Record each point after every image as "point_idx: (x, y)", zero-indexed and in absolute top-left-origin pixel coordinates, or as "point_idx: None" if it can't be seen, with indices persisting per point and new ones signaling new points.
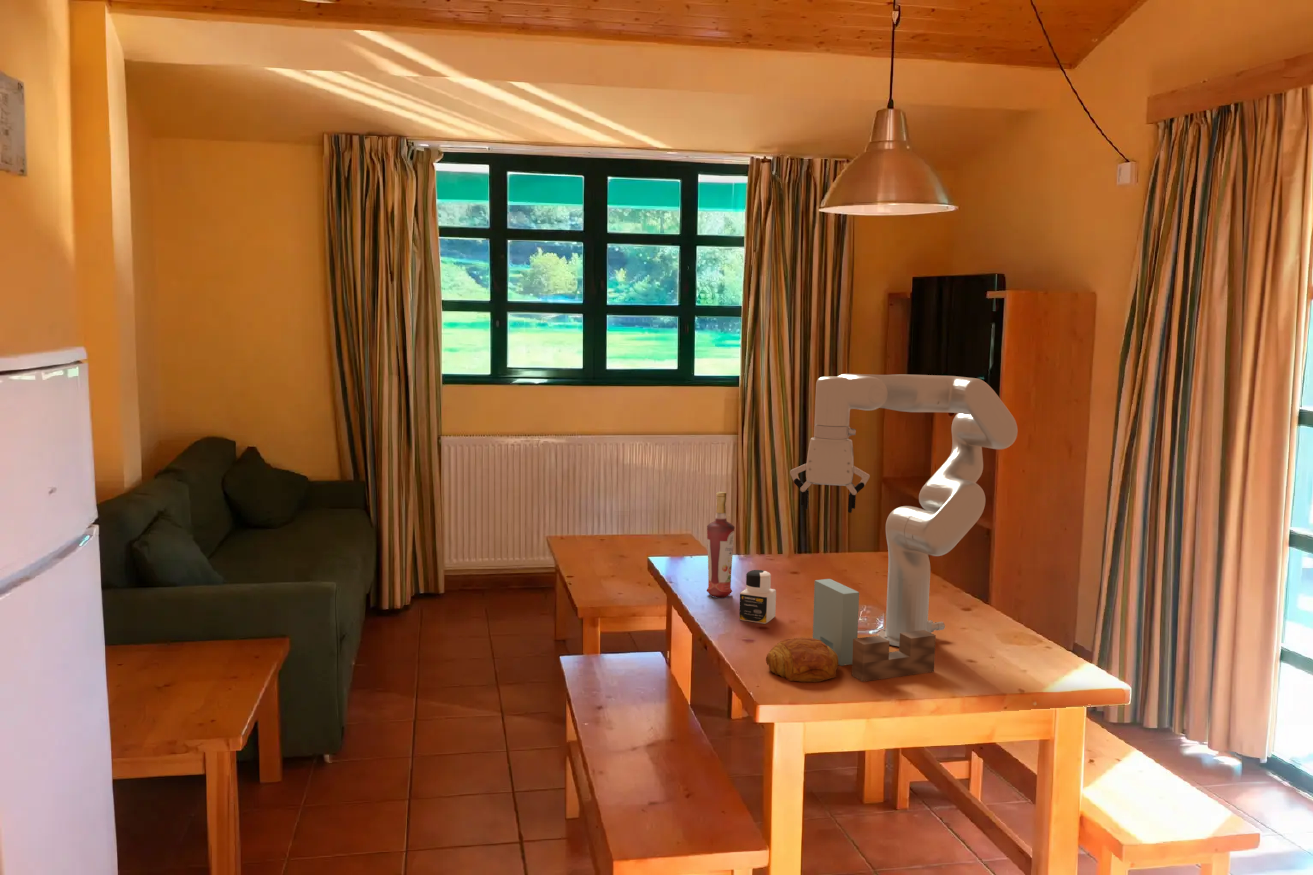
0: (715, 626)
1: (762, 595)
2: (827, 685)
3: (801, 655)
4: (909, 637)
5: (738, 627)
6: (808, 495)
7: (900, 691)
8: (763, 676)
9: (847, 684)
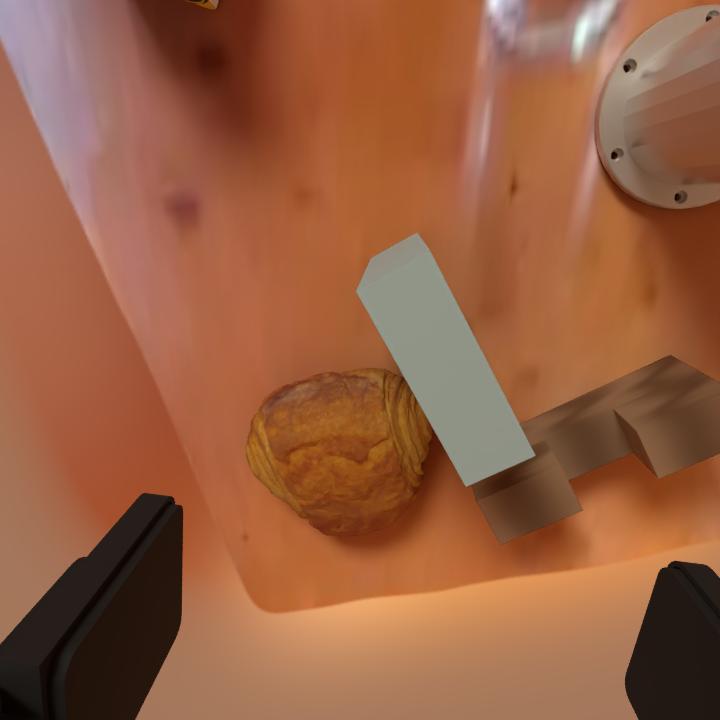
0: (59, 75)
1: None
2: (398, 517)
3: (331, 523)
4: (656, 469)
5: (132, 71)
6: (108, 641)
7: (563, 534)
8: (252, 481)
9: (445, 507)
